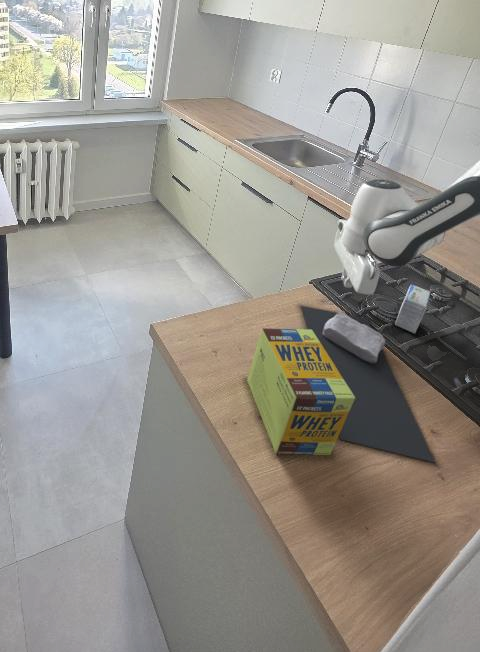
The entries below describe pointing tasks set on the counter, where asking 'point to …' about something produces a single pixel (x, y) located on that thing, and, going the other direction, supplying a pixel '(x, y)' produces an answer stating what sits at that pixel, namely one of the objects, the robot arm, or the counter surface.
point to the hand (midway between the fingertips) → (345, 283)
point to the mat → (371, 397)
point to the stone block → (354, 337)
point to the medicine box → (413, 308)
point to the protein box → (298, 392)
